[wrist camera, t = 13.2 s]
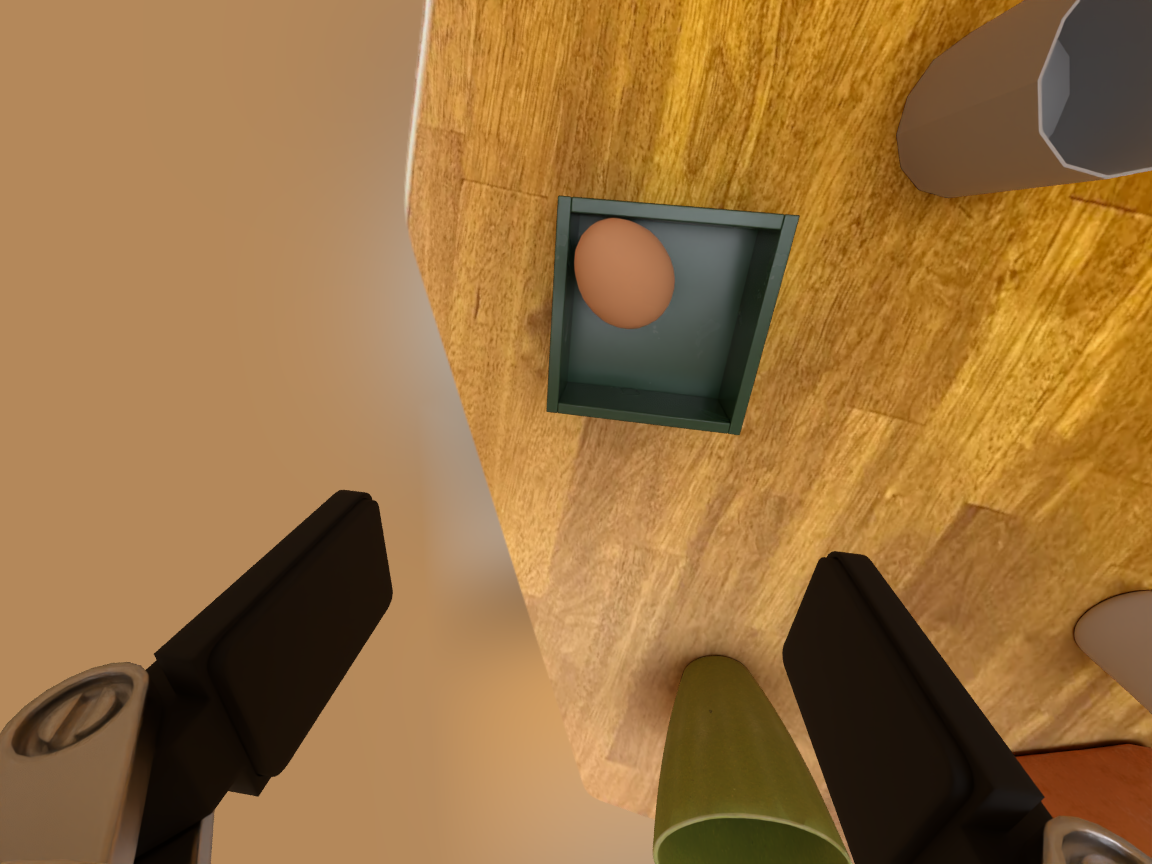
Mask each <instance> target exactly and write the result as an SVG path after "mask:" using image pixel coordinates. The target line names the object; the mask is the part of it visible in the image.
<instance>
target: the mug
mask: <svg viewBox="0 0 1152 864" xmlns="http://www.w3.org/2000/svg"><path fill="white" fill-rule="evenodd" d="M1074 636H1075V641H1076V643H1077V644H1078V646H1079V647H1080V649H1081V650H1082V651H1083V652H1084V653H1085V654H1086V655H1088V656H1089V657H1090V658H1091V659H1092V660H1093V661H1094V662H1095V663H1096V664H1098V665H1099V666H1100V667H1101V668H1102V669H1103V670H1104V671H1106V672H1107V673H1108V674H1109V675H1110V676H1111V677H1112V678H1113V679H1114V680H1116V681H1117V682H1118V683H1119V684H1120V685H1121V686H1122V687H1123V688H1124V689H1125V690H1127V691H1128V692H1129V693H1130V694H1131V695H1132V696H1133V697H1134V698H1135V699H1136V700H1137V701H1138V702H1140V703H1141V704H1142V705H1143V706H1144V707H1145V708H1146V709H1147V710H1148V711H1149V712H1150V713H1152V591H1137V592H1131V593H1126V594H1122V595H1119V596H1115V597H1113V598H1110V599H1108V600H1105V601H1103V602H1101V603H1100V604H1098V605H1096V606H1094V607H1093V608H1091V609H1090V610H1089V611H1088V612H1086V613H1085V614H1084V615H1083V616H1082V617H1081V619H1080V620H1079V621H1078V623H1077V625H1076V627H1075V632H1074Z"/></svg>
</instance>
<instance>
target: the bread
mask: <svg viewBox="0 0 1152 864" xmlns="http://www.w3.org/2000/svg"><path fill="white" fill-rule="evenodd" d="M1016 759H1017V760H1018V761H1019V763H1020V764H1021V765H1022V767H1023V768H1024V769H1025V771H1026V772H1027V774H1028V775H1029V776H1030V778H1031V779H1032V780H1033V782H1034V783H1035V784H1036V786H1037V787H1038V788H1039V790H1040V791H1041V793H1042V794H1043V795H1044V797H1045V798H1044V799H1043V800H1042V801H1041V802H1042V803H1043V805H1044V806H1045V807H1046V809H1047V810H1048V812H1049V813H1050V814H1051V816H1052V817H1053V818H1055V817H1057V816H1073V817H1079V818H1081V819H1084V820H1087V821H1090V822H1093V823H1095V824H1098V825H1100V826H1102V827H1104V828H1106V829H1107V830H1109V831H1111V832H1113V833H1115V834H1116V835H1118V836H1120V837H1122V838H1124V839H1125V840H1127V841H1128V842H1129V843H1131V844H1132V845H1134V846H1135V847H1136V848H1138V849H1139V850H1140V851H1142V852H1143V853H1145V854H1146V855H1147V856H1149V857H1150V858H1152V749H1151V748H1149V747H1143V746H1137V745H1131V744H1124V745H1116V746H1108V747H1100V748H1092V749H1084V750H1074V751H1065V752H1056V753H1046V754H1036V755H1027V756H1018V757H1016Z"/></svg>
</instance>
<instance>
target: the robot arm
mask: <svg viewBox="0 0 1152 864" xmlns="http://www.w3.org/2000/svg"><path fill="white" fill-rule="evenodd" d="M392 594H393V590H392V583H391V577H390V572H389V565H388V560H387V553H386V547H385V542H384V536H383V529H382V523H381V517H380V511H379V506H378V503H377V502H376V501H374V500H372V497H371V496H370V494H368V493H365V492H357V491H349V490H339V491H338V492H336V493H335V494H334V495H332V496H331V497H330V498H329V499H328V500H327V501H326V502H325V503H323V504H322V505H321V506H320V507H319V508H318V509H317V510H316V511H314V512H313V513H312V514H311V515H310V516H309V517H308V518H306V519H305V520H304V521H303V522H302V523H301V524H300V525H299V526H297V527H296V528H295V529H294V530H293V531H292V532H291V533H290V534H288V535H287V536H286V537H285V538H284V539H283V540H282V541H281V542H279V544H277V545H276V546H275V547H274V548H273V549H272V550H270V551H269V552H268V553H267V554H266V555H265V556H264V557H263V558H261V559H260V560H259V561H258V562H257V563H256V564H255V565H253V567H251V568H250V569H249V570H248V571H247V572H246V573H244V574H243V575H242V576H241V577H240V578H239V579H238V580H237V581H236V582H234V583H233V584H232V585H231V586H230V587H229V588H228V589H227V590H225V591H224V592H223V593H222V594H221V595H220V596H219V597H217V598H216V599H215V600H214V601H213V602H212V603H211V604H210V605H209V606H207V607H206V608H205V609H204V610H203V611H202V612H201V613H199V614H198V615H197V616H196V617H195V618H194V619H193V620H191V621H190V622H189V623H188V624H187V625H186V626H185V627H184V628H182V629H181V630H180V631H179V632H178V633H177V634H176V635H175V636H173V637H172V638H171V639H170V640H169V641H168V642H167V643H166V644H164V645H163V646H162V647H161V648H160V649H159V650H158V651H157V652H156V653H154V655H155V657H156V659H157V660H156V661H155V662H154V663H153V664H152V665H151V666H150V667H149V668H148V669H146V670H144V668H142V666H141V665H137V664H133V663H130V662H124V663H110V664H107V665H103V666H99V667H95V668H91V669H89V670H86V671H84V672H82V673H79V674H77V675H75V676H72V677H70V678H68V679H66V680H64V681H62V682H61V683H59V684H57V685H55V686H53V687H52V688H50V689H48V690H46V691H45V692H44V693H42V694H41V695H39V696H38V697H37V698H36V699H34V700H33V701H31V702H30V703H29V704H27V705H26V706H25V707H24V708H23V709H21V710H20V711H19V712H18V713H17V714H16V715H15V716H14V717H13V718H12V719H11V720H10V721H9V722H8V723H7V724H6V726H5V727H4V729H3V730H2V732H1V733H0V864H211V850H212V837H213V822H214V810H215V808H216V807H217V805H218V804H219V802H220V801H221V800H222V798H223V797H224V796H225V794H226V793H227V792H228V791H231V792H237V793H242V794H248V795H253V796H259V795H260V793H261V792H262V790H263V789H264V787H265V785H266V784H267V783H268V781H269V779H270V778H271V777H275V776H277V775H279V774H280V773H281V772H282V771H283V770H284V769H285V767H286V766H287V765H288V763H289V762H290V760H291V759H292V757H293V755H294V754H295V752H296V751H297V749H298V748H299V746H300V744H301V743H302V741H303V740H304V738H305V737H306V735H307V734H308V732H309V731H310V729H311V727H312V726H313V724H314V723H315V721H316V720H317V718H318V716H319V715H320V713H321V712H322V710H323V709H324V707H325V706H326V704H327V702H328V701H329V699H330V698H331V696H332V694H333V693H334V691H335V690H336V688H337V687H338V685H339V684H340V682H341V680H342V679H343V678H344V676H345V674H346V673H347V671H348V670H349V668H350V667H351V665H352V663H353V662H354V660H355V659H356V657H357V656H358V654H359V653H360V651H361V649H362V648H363V646H364V645H365V643H366V642H367V640H368V639H369V637H370V635H371V634H372V632H373V631H374V629H375V628H376V626H377V625H378V623H379V621H380V620H381V618H382V617H383V615H384V614H385V612H386V610H387V609H388V607H389V605H390V602H391V600H392ZM782 654H783V663H784V667H785V669H786V672H787V675H788V678H789V681H790V683H791V686H792V689H793V692H794V695H795V697H796V700H797V703H798V706H799V709H800V711H801V714H802V717H803V720H804V723H805V725H806V728H807V731H808V734H809V737H810V739H811V742H812V745H813V748H814V751H815V753H816V756H817V759H818V762H819V765H820V767H821V770H822V773H823V776H824V779H825V781H826V784H827V787H828V790H829V793H830V796H831V798H832V801H833V804H834V807H835V810H836V812H837V815H838V818H839V821H840V824H841V826H842V829H843V832H844V835H845V838H846V840H847V843H848V846H849V849H850V852H851V854H852V857H853V860H854V863H855V864H1152V858H1150V857H1149V856H1147V855H1146V854H1145V853H1143V852H1142V851H1140V850H1139V849H1138V848H1136V847H1135V846H1134V845H1132V844H1131V843H1129V842H1128V841H1127V840H1125V839H1124V838H1122V837H1120V836H1118V835H1116V834H1115V833H1113V832H1111V831H1109V830H1107V829H1106V828H1104V827H1102V826H1100V825H1098V824H1095V823H1093V822H1090V821H1087V820H1084V819H1081V818H1079V817H1073V816H1057V817H1055V818H1053V817H1052V816H1051V814H1050V813H1049V812H1048V810H1047V809H1046V807H1045V806H1044V805H1043V803H1042V802H1041V801H1042V800H1043V799H1044V798H1045V797H1044V795H1043V794H1042V793H1041V791H1040V790H1039V788H1038V787H1037V786H1036V784H1035V783H1034V782H1033V780H1032V779H1031V778H1030V776H1029V775H1028V774H1027V772H1026V771H1025V769H1024V768H1023V767H1022V765H1021V764H1020V763H1019V761H1018V760H1017V759H1016V757H1015V756H1014V754H1013V753H1012V752H1011V750H1010V749H1009V748H1008V746H1007V745H1006V744H1005V742H1004V741H1003V740H1002V738H1001V737H1000V735H999V734H998V733H997V731H996V730H995V729H994V727H993V726H992V725H991V723H990V722H989V720H988V719H987V718H986V716H985V715H984V714H983V712H982V711H981V710H980V708H979V707H978V706H977V704H976V703H975V701H974V700H973V699H972V697H971V696H970V695H969V693H968V692H967V691H966V689H965V688H964V687H963V685H962V684H961V682H960V681H959V680H958V678H957V677H956V676H955V674H954V673H953V672H952V670H951V669H950V667H949V666H948V665H947V663H946V662H945V661H944V659H943V658H942V657H941V655H940V654H939V653H938V651H937V650H936V648H935V647H934V646H933V644H932V643H931V642H930V640H929V639H928V638H927V636H926V635H925V633H924V632H923V631H922V629H921V628H920V627H919V625H918V624H917V623H916V621H915V620H914V619H913V617H912V616H911V614H910V613H909V612H908V610H907V609H906V608H905V606H904V605H903V604H902V602H901V601H900V599H899V598H898V597H897V595H896V594H895V593H894V591H893V590H892V589H891V587H890V586H889V585H888V583H887V582H886V580H885V579H884V578H883V576H882V575H881V574H880V572H879V571H878V570H877V568H876V567H875V565H874V564H873V563H872V561H871V560H870V559H869V558H868V557H867V556H865V555H861V554H853V553H845V552H837V551H834V552H831V553H830V554H828V556H827V558H826V557H823V558H821V559H819V561H818V563H817V566H816V568H815V570H814V573H813V575H812V578H811V580H810V583H809V585H808V587H807V590H806V592H805V595H804V597H803V600H802V602H801V605H800V607H799V609H798V612H797V614H796V617H795V619H794V622H793V624H792V626H791V629H790V631H789V634H788V636H787V639H786V641H785V643H784V646H783V653H782Z"/></svg>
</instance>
